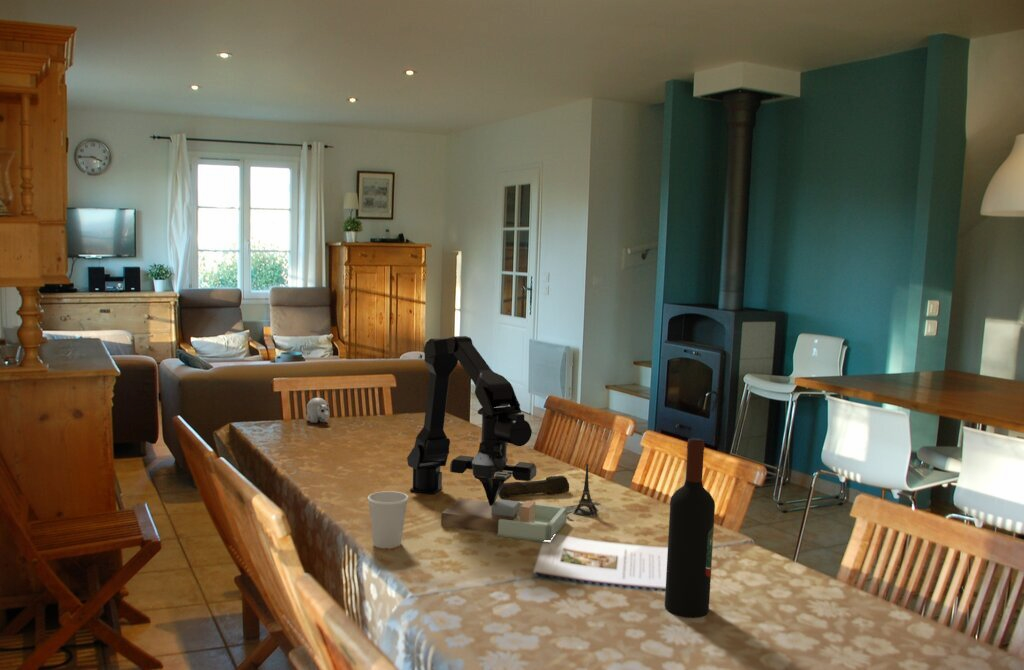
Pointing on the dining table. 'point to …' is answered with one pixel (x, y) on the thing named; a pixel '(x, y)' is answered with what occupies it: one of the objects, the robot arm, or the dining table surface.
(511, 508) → the tile slate
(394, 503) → the dixie cup
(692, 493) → the wine bottle
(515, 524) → the tray
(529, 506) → the tile terracotta
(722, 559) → the dining table surface
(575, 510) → the eiffel tower figurine
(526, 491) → the hand tool
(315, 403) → the chubby cartoon animal
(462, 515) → the plate
